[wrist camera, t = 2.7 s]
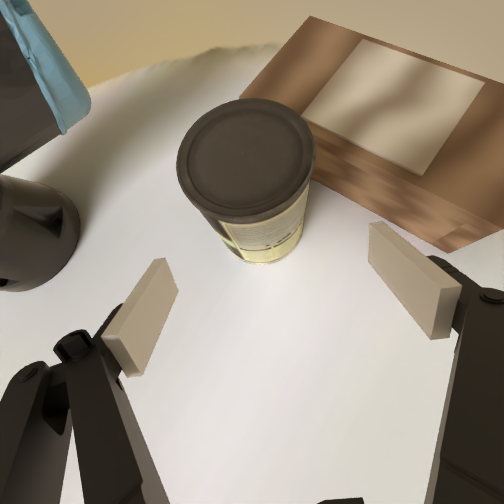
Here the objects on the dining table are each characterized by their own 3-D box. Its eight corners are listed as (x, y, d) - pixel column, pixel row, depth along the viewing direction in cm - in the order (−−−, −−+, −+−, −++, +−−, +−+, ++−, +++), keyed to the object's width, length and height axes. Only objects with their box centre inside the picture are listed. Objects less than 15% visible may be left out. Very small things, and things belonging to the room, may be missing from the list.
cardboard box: (248, 142, 35) (238, 94, 28) (305, 74, 37) (310, 12, 30) (447, 253, 28) (506, 227, 20) (505, 160, 30) (578, 106, 22)
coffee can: (208, 248, 32) (151, 192, 18) (241, 180, 34) (212, 85, 20) (285, 279, 29) (283, 240, 16) (315, 203, 32) (336, 114, 18)
